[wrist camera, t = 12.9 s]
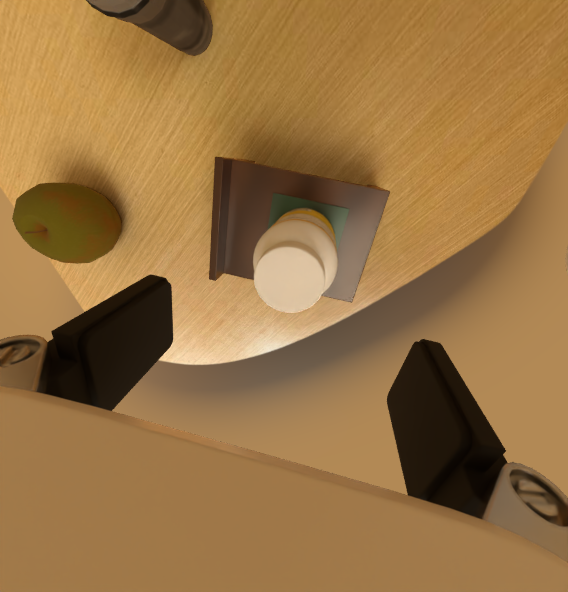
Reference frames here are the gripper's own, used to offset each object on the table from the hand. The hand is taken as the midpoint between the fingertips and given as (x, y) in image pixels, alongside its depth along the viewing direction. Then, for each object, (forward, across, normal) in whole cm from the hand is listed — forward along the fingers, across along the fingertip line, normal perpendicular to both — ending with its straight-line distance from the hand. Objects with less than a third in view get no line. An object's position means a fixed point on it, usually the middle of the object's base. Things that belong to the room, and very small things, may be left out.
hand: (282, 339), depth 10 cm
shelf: (+26, +2, +1) cm, 26 cm away
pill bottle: (+19, +1, +1) cm, 19 cm away
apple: (+26, +30, +6) cm, 40 cm away
